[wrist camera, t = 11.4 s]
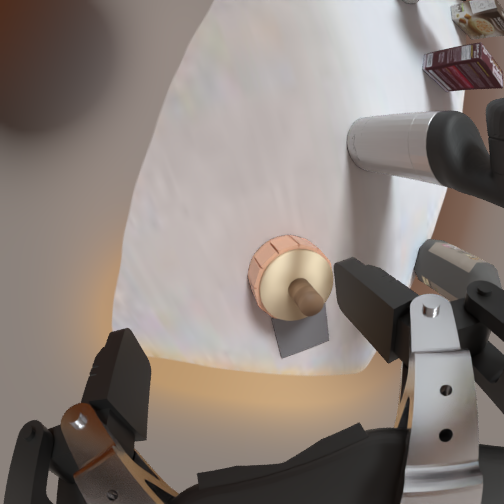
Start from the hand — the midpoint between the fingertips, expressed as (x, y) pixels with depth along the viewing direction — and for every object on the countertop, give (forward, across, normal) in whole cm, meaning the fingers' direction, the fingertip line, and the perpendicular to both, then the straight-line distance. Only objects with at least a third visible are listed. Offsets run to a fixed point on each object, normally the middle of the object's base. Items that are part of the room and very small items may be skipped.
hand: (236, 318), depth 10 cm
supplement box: (+30, -51, -16) cm, 61 cm away
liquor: (+30, -42, +24) cm, 57 cm away
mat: (+30, -10, +28) cm, 42 cm away
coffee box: (+30, -73, -34) cm, 86 cm away
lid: (+25, -9, +15) cm, 31 cm away
